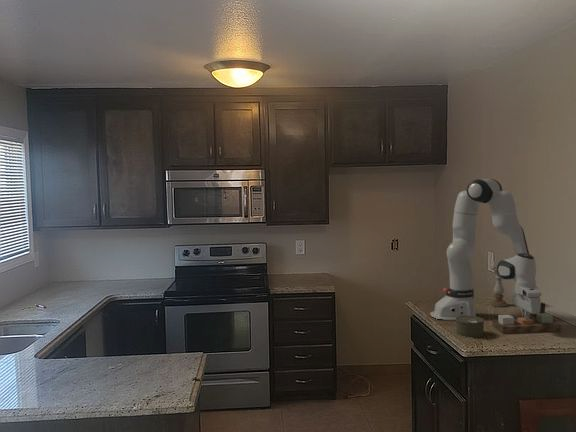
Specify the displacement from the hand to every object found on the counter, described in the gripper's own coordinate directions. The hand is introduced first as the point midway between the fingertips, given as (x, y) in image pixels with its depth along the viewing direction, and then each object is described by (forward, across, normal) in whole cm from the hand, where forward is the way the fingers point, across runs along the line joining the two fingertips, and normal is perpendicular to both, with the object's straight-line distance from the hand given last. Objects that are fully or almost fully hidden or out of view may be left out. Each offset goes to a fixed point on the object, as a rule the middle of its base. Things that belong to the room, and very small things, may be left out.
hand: (525, 318), depth 246 cm
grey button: (+2, 0, -9) cm, 9 cm away
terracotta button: (+3, 0, 0) cm, 4 cm away
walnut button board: (+5, 0, 0) cm, 5 cm away
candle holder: (+5, -44, +6) cm, 45 cm away
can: (+5, +4, -28) cm, 28 cm away
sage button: (+2, 0, +9) cm, 9 cm away
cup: (+5, -14, +12) cm, 19 cm away
